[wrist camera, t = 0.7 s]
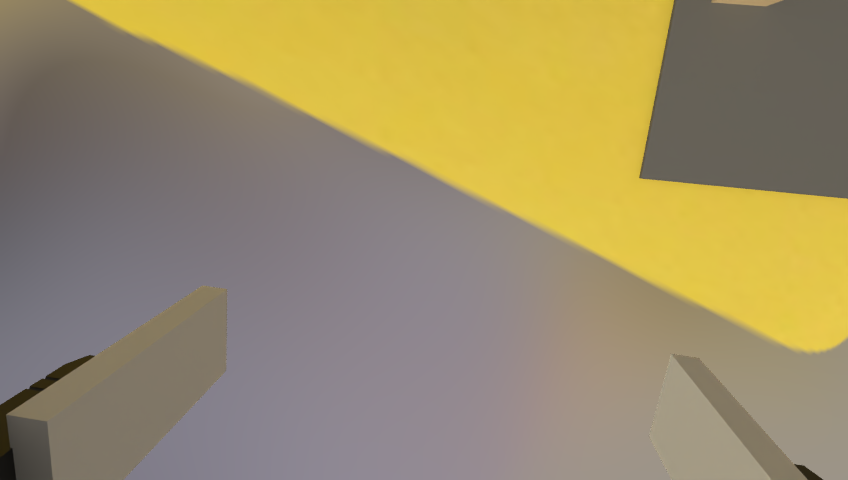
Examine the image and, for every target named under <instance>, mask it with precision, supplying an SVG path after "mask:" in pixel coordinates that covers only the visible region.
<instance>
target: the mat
mask: <svg viewBox="0 0 848 480" xmlns="http://www.w3.org/2000/svg"><path fill="white" fill-rule="evenodd" d="M711 1H712V0H674V5H673V10H672V15H671V20H670V25H669V30H668V35H667V40H666V45H665V50H664V56H663V61H662V66H661V71H660V76H659V81H658V86H657V91H656V96H655V101H654V106H653V111H652V116H651V121H650V127H649V132H648V137H647V142H646V147H645V152H644V157H643V162H642V167H641V172H640V177H639V178H642V179H652V180H663V181H673V182H683V183H693V184H704V185H714V186H724V187H735V188H745V189H755V190H765V191H776V192H786V193H796V194H806V195H817V196H827V197H837V198H848V0H782V1H780V2H777V3H774V4H771V5H768V6H754V5H740V4H726V3H712V2H711Z"/></svg>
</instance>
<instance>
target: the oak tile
mask: <svg viewBox="0 0 848 480" xmlns="http://www.w3.org/2000/svg"><path fill="white" fill-rule="evenodd" d="M780 1H782V0H712V1H711V2H712V3H726V4H740V5H754V6H768V5H771V4H774V3H777V2H780Z"/></svg>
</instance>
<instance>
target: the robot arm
mask: <svg viewBox="0 0 848 480" xmlns="http://www.w3.org/2000/svg"><path fill="white" fill-rule="evenodd" d="M226 332H227V289H222V288H215V287H208V286H202V287H200V288H198V289H197V290H195V291H194V292H192V293H191V294H189V295H188V296H186V297H185V298H183V299H182V300H180V301H178V302H177V303H175V304H174V305H172V306H171V307H169V308H168V309H166V310H165V311H163V312H162V313H160V314H159V315H157V316H156V317H154V318H153V319H151V320H150V321H148V322H146V323H145V324H143V325H142V326H140V327H139V328H137V329H136V330H134V331H133V332H131V333H130V334H128V335H127V336H125V337H124V338H122V339H121V340H119V341H118V342H116V343H114V344H113V345H111V346H110V347H108V348H107V349H105V350H104V351H102V352H101V353H99V354H98V355H97V356H91V355H89V356H86V357H83V358H81V359H78V360H75V361H73V362H70V363H67V364H65V365H63V366H62V367H60V368H58V369H57V370H55V371H54V372H52V373H51V374H49V375H47V376H46V378H45V379H41V380H39V381H38V382H36V383H34V384H33V385H31V386H30V388H29V389H25V390H23V391H22V392H20V393H19V394H17V395H15V396H14V397H12V398H11V399H9V400H7V401H6V402H4V403H3V404H1V405H0V480H123V479H124V478H125V477H126V476H127V475H128V474H129V473H130V472H131V471H132V470H133V469H134V468H135V467H136V466H137V465H138V464H139V463H140V461H141V460H142V459H143V458H144V457H145V456H146V455H147V454H148V453H149V452H150V451H151V450H152V449H153V448H154V446H155V445H156V444H157V443H158V442H159V441H160V440H161V439H162V438H163V437H164V436H165V435H166V434H167V433H168V432H169V431H170V429H171V428H172V427H173V426H174V425H175V424H176V423H177V422H178V421H179V420H180V419H181V418H182V417H183V416H184V415H185V414H186V413H187V411H188V410H189V409H190V408H191V407H192V406H193V405H194V404H195V403H196V402H197V401H198V400H199V399H200V398H201V397H202V396H203V395H204V394H205V392H206V391H207V390H208V389H209V388H210V387H211V386H212V385H213V384H214V383H215V382H216V381H217V380H218V379H219V378H220V377H221V375H222V374H223V373H224V372H225V371H226V338H227V337H226V336H227V333H226ZM649 438H650V440H651V442H652V443H653V445H654V447H655V449H656V451H657V453H658V455H659V456H660V458H661V461H662V462H663V464H664V466H665V468H666V470H667V472H668V474H669V476H670V478H671V479H672V480H823V479H822V478H820V477H819V476H817V475H816V474H815V473H813V472H812V471H810V470H809V469H807V468H806V467H805V466H802V465H796V464H793V463H792V462H791V460H790V459H789V458H788V457H787V456H786V455H785V454H784V453H783V452H782V450H781V449H780V448H779V447H778V446H777V445H776V444H775V443H774V442H773V440H772V439H771V438H770V437H769V436H768V435H767V434H766V433H765V431H764V430H763V429H762V428H761V427H760V426H759V425H758V424H757V422H756V421H754V419H753V418H752V417H751V416H750V415H749V414H748V412H747V411H746V410H745V409H744V408H743V407H742V406H741V405H740V404H739V402H738V401H737V400H736V399H735V398H734V397H733V396H732V395H731V393H730V392H729V391H728V390H727V389H726V388H725V387H724V386H723V385H722V383H721V382H720V381H719V380H718V379H717V378H716V377H715V376H714V374H713V373H712V372H711V371H710V370H709V369H708V368H707V367H706V366H705V365H704V363H703V362H702V361H701V360H700V359H699V358H695V357H689V356H681V355H675V354H671V357H670V361H669V364H668V368H667V372H666V376H665V379H664V383H663V386H662V390H661V394H660V398H659V402H658V405H657V409H656V412H655V416H654V420H653V424H652V427H651V431H650V434H649Z"/></svg>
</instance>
